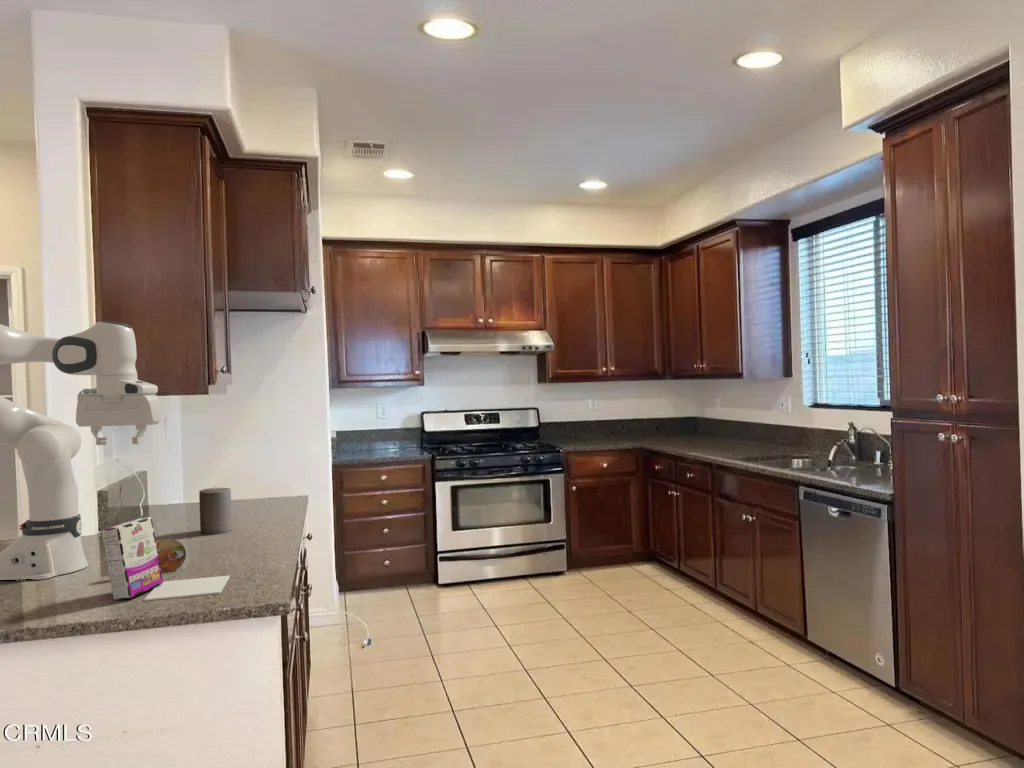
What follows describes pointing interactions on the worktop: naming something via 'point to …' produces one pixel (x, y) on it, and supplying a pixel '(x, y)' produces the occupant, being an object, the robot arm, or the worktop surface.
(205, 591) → the mat
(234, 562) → the worktop surface
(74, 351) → the robot arm
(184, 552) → the tin
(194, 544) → the worktop surface
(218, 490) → the pillar candle
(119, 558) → the candy bar box
